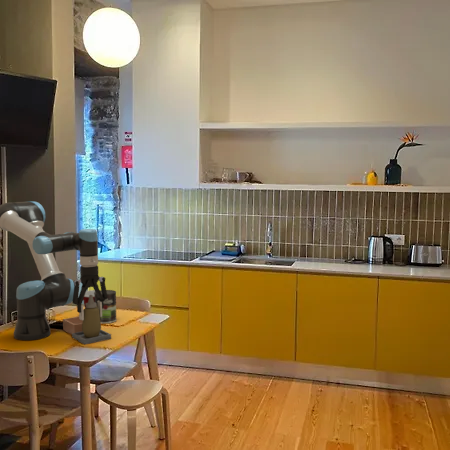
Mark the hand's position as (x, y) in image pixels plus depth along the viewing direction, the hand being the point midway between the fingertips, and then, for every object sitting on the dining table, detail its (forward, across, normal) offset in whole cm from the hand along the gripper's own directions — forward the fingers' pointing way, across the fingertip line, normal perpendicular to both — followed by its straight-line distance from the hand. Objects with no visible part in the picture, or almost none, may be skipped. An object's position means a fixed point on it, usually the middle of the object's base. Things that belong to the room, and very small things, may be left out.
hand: (90, 317), depth 239 cm
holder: (+9, +2, +14) cm, 17 cm away
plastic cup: (+9, +17, +34) cm, 39 cm away
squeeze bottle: (+8, 0, 0) cm, 8 cm away
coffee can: (+9, +18, +22) cm, 30 cm away
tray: (+9, 0, 0) cm, 9 cm away
